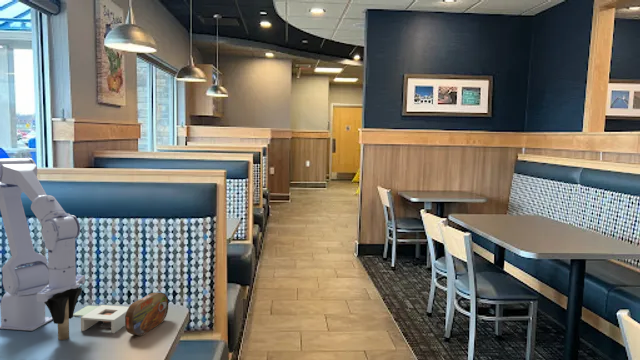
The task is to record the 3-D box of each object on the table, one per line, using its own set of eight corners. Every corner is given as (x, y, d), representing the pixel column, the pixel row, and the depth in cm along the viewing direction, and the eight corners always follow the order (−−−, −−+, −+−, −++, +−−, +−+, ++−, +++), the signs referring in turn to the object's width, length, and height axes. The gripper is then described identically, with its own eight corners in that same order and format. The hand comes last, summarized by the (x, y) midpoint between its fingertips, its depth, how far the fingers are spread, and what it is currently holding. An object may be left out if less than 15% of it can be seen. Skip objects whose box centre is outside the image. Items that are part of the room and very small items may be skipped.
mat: (71, 316, 123) (71, 314, 123) (87, 306, 130) (87, 305, 130) (95, 317, 123) (95, 316, 123) (110, 308, 130) (110, 307, 130)
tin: (133, 341, 109) (133, 307, 108) (122, 339, 110) (122, 306, 109) (169, 318, 124) (169, 288, 123) (159, 316, 124) (159, 287, 124)
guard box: (81, 330, 114) (80, 317, 114) (101, 317, 123) (101, 304, 123) (114, 333, 113) (114, 319, 113) (132, 319, 122) (132, 307, 122)
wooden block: (55, 339, 109) (54, 299, 108) (62, 335, 111) (61, 296, 110) (64, 340, 108) (64, 300, 108) (71, 336, 111) (70, 297, 110)
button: (100, 322, 117) (100, 316, 117) (106, 318, 119) (105, 312, 119) (109, 322, 116) (109, 317, 116) (115, 319, 119) (115, 313, 119)
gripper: (56, 275, 101) (58, 334, 102) (95, 259, 115) (96, 310, 116) (27, 274, 101) (29, 331, 102) (70, 258, 116) (71, 308, 117)
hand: (63, 320), depth 109 cm, fingers open, 3 cm apart
